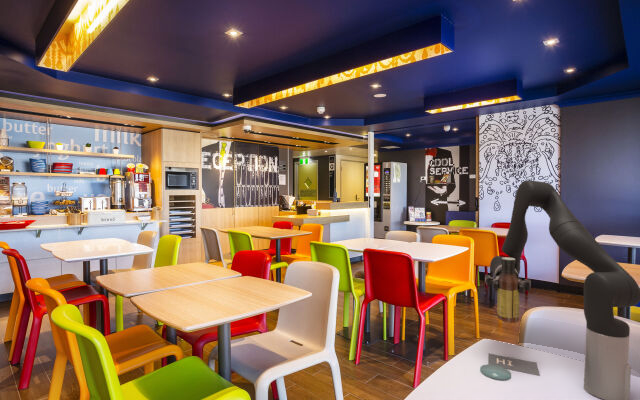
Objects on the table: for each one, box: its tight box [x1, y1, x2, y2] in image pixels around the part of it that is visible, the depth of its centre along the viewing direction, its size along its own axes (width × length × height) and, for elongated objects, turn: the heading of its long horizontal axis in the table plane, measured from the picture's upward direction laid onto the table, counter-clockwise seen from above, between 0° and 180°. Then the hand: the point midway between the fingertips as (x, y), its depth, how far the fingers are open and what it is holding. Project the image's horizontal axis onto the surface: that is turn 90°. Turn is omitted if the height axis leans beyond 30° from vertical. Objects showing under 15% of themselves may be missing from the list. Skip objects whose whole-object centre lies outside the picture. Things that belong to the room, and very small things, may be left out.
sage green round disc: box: [479, 364, 512, 381], centre depth 109 cm, size 8×8×1 cm
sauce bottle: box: [496, 256, 520, 324], centre depth 115 cm, size 7×6×20 cm
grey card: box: [487, 353, 541, 377], centre depth 115 cm, size 14×9×1 cm, turn 65°
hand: (508, 288), depth 113 cm, fingers closed on sauce bottle, 6 cm apart
